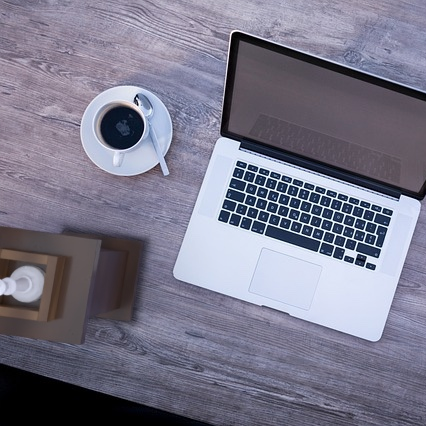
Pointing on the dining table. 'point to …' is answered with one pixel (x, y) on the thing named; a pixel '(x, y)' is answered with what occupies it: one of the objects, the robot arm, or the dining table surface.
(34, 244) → the socket stand
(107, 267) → the stand base
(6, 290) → the chess piece
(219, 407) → the dining table surface
